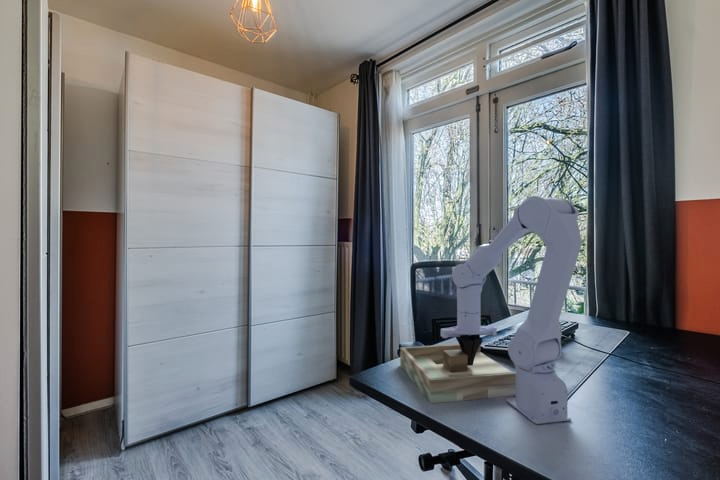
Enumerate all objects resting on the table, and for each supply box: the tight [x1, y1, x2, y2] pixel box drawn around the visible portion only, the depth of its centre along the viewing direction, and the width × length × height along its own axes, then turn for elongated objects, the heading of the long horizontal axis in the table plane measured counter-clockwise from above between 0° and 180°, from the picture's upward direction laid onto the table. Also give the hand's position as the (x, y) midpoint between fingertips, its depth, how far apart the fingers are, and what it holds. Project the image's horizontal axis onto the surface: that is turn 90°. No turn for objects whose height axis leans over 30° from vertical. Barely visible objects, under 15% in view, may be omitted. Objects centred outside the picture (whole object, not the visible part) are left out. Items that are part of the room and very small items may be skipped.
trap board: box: [399, 343, 516, 404], centre depth 84 cm, size 22×24×5 cm
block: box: [443, 349, 468, 373], centre depth 84 cm, size 4×4×4 cm
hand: (468, 364), depth 85 cm, fingers closed
